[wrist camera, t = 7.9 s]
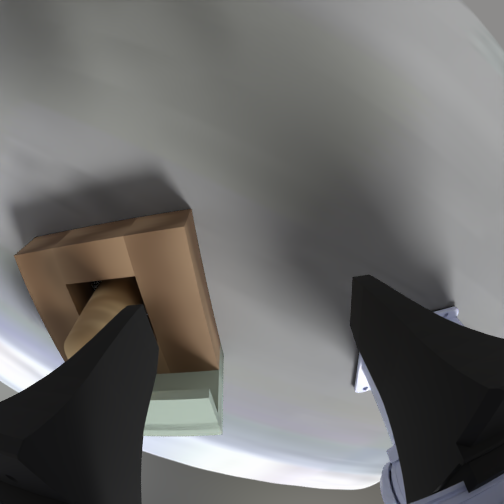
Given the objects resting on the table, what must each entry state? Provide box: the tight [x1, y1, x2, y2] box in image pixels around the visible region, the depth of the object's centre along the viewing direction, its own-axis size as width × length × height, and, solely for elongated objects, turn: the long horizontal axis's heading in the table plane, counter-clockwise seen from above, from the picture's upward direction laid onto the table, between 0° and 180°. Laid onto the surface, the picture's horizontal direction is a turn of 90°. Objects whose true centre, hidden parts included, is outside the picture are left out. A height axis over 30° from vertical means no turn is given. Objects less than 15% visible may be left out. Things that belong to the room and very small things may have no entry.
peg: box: [64, 276, 145, 359], centre depth 18 cm, size 4×4×7 cm
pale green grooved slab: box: [143, 344, 224, 436], centre depth 20 cm, size 12×4×8 cm, turn 97°
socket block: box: [14, 209, 224, 374], centre depth 21 cm, size 12×12×3 cm
